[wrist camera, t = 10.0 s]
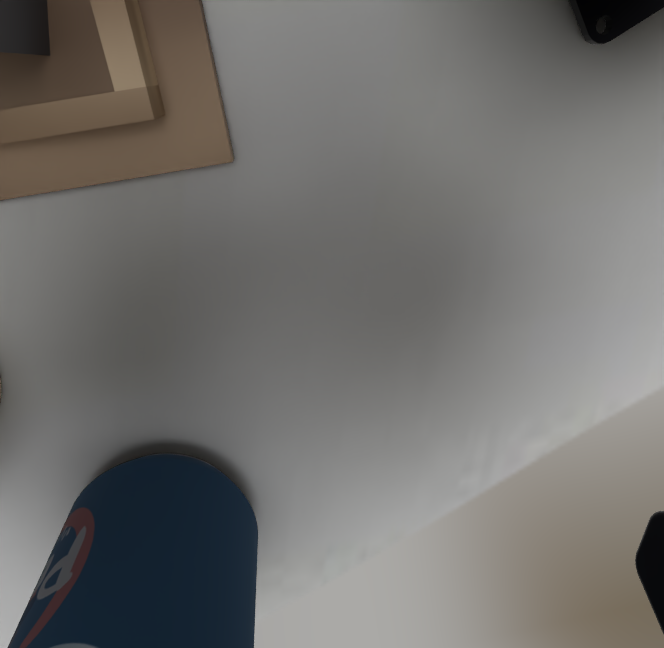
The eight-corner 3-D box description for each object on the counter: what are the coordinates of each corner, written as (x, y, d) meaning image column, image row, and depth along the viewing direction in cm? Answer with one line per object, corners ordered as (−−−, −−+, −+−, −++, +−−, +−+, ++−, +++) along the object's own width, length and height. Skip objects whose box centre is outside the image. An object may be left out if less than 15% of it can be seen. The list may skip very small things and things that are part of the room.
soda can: (70, 436, 22) (-135, 802, 11) (261, 438, 23) (249, 784, 12) (85, 580, 25) (-67, 992, 14) (256, 577, 25) (242, 966, 14)
